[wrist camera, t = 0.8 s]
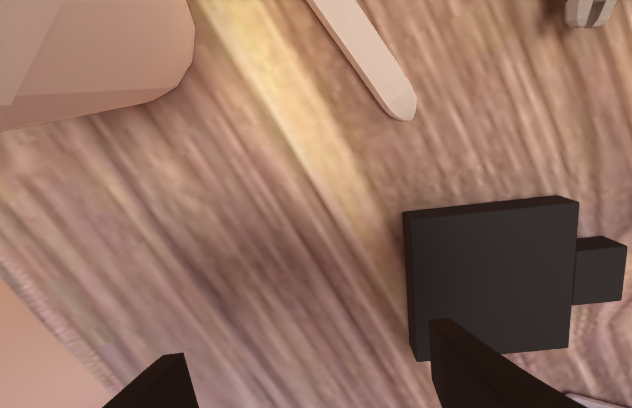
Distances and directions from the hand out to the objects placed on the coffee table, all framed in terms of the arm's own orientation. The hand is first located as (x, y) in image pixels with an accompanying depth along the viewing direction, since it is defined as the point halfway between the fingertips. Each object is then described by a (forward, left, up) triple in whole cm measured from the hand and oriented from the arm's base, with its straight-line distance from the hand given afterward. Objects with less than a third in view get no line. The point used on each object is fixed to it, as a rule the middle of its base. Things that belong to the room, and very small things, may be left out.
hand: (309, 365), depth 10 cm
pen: (+12, +3, -9) cm, 15 cm away
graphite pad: (+2, -10, -9) cm, 14 cm away
